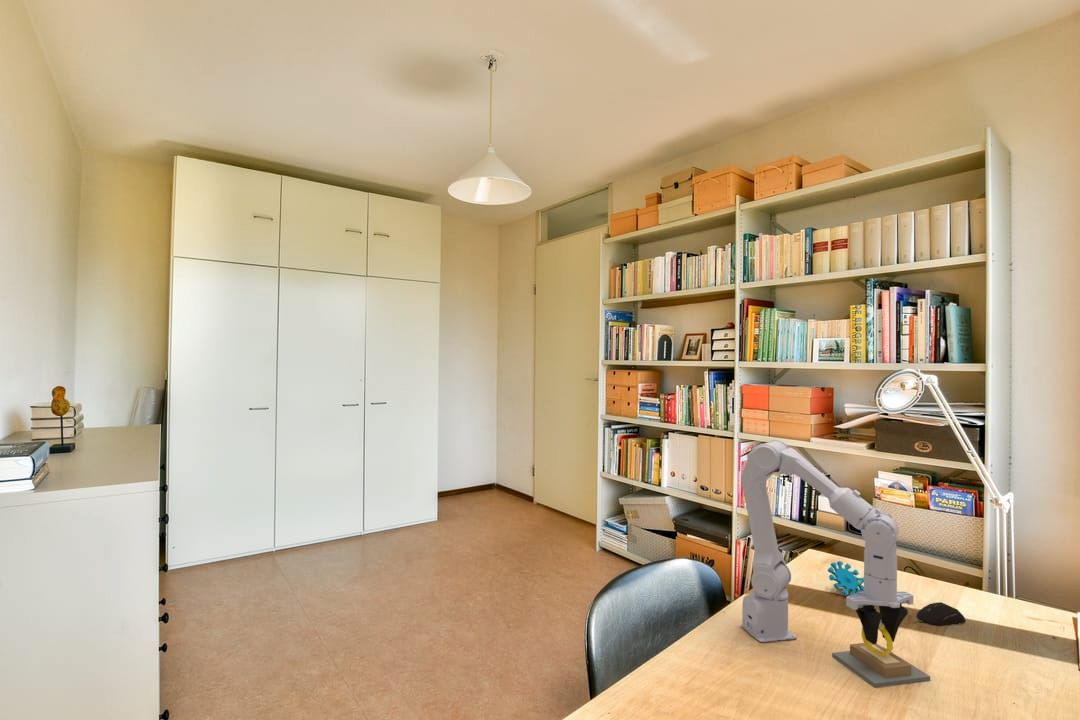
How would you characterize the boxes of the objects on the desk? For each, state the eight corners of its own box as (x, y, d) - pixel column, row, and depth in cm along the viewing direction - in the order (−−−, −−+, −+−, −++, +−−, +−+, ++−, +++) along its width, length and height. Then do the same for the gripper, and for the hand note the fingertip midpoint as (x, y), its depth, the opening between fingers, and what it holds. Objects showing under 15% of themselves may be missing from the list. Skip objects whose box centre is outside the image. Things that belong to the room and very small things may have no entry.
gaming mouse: (900, 618, 130) (900, 602, 130) (945, 611, 134) (945, 596, 134) (925, 630, 124) (925, 613, 124) (971, 623, 128) (971, 607, 128)
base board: (874, 687, 101) (874, 672, 101) (832, 656, 112) (832, 642, 112) (930, 680, 104) (930, 665, 104) (883, 650, 115) (883, 637, 115)
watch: (859, 647, 111) (857, 618, 111) (868, 645, 112) (867, 616, 112) (886, 660, 105) (884, 629, 106) (896, 658, 106) (894, 627, 107)
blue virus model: (839, 594, 139) (825, 558, 147) (826, 602, 143) (813, 567, 151) (876, 598, 141) (860, 562, 148) (863, 606, 145) (848, 571, 152)
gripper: (866, 584, 103) (865, 654, 103) (927, 579, 106) (926, 647, 106) (838, 570, 110) (838, 636, 109) (896, 566, 113) (896, 630, 112)
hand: (879, 640), depth 108 cm, fingers open, 4 cm apart
